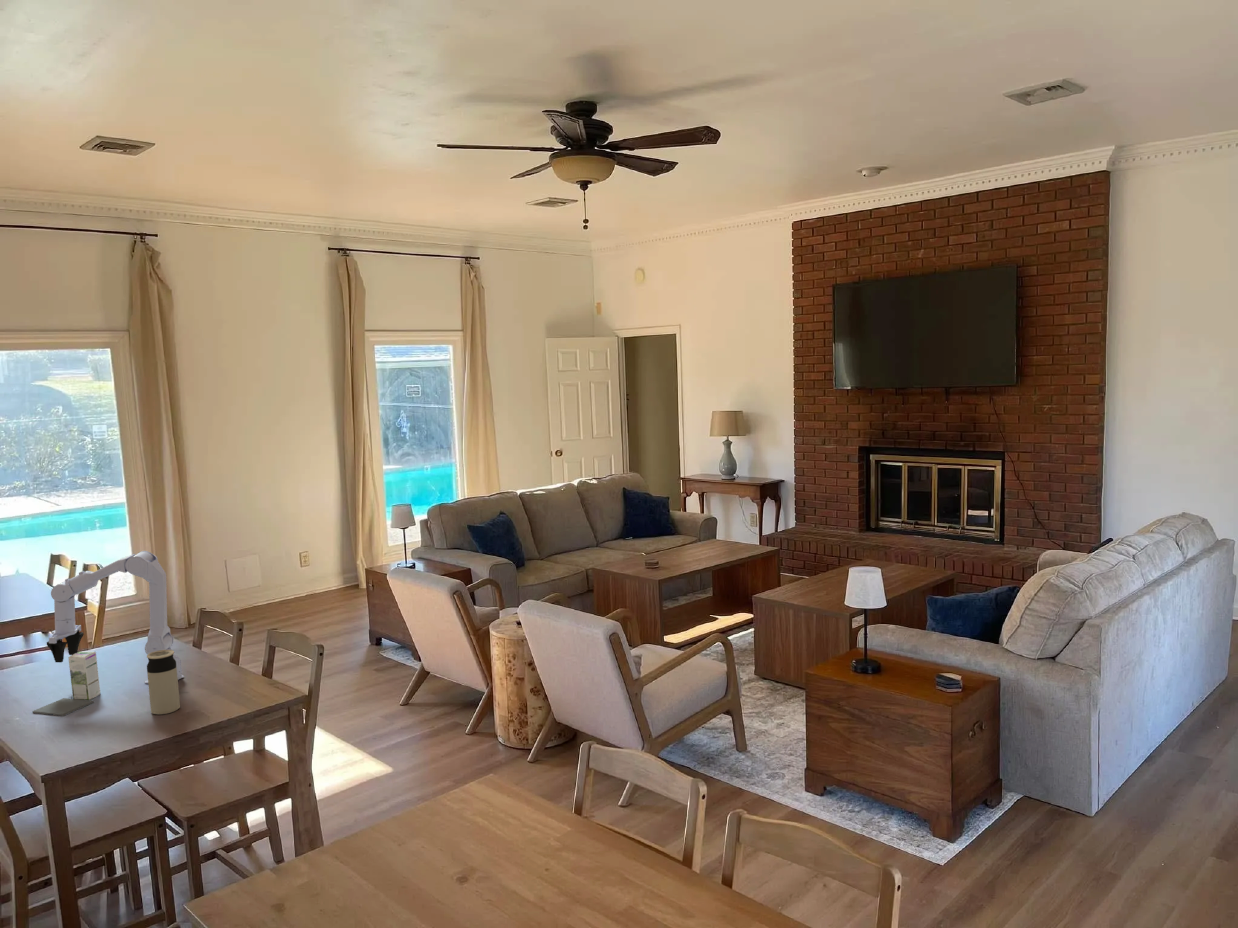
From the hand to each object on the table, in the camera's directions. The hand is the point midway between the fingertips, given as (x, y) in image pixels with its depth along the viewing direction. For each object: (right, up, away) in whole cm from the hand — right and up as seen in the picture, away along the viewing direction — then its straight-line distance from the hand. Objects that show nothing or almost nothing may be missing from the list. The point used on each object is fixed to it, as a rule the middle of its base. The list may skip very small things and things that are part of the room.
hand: (66, 658), depth 292 cm
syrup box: (+11, -11, -7) cm, 17 cm away
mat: (+9, -12, -16) cm, 22 cm away
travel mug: (+44, -12, -21) cm, 50 cm away
